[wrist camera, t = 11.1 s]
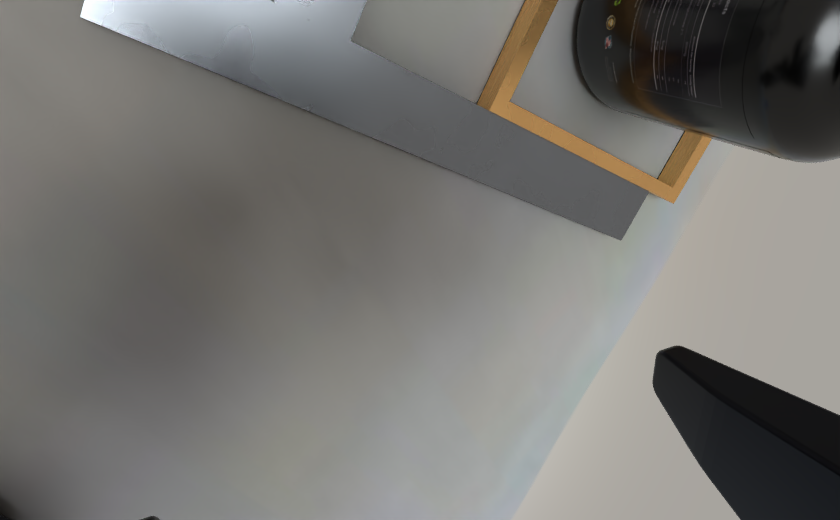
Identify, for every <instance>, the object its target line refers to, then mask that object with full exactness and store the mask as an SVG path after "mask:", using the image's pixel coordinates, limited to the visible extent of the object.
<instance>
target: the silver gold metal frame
mask: <svg viewBox="0 0 840 520" xmlns="http://www.w3.org/2000/svg"><path fill="white" fill-rule="evenodd" d="M366 1H367V0H85V1H84V4H83V8H82V12H81V16H80V17H82V18H84V19H87V20H89V21H92V22H94V23H96V24H99V25H101V26H104V27H106V28H108V29H111V30H113V31H116V32H118V33H121V34H123V35H125V36H128V37H130V38H133V39H135V40H137V41H140V42H142V43H145V44H147V45H150V46H152V47H154V48H157V49H159V50H162V51H164V52H166V53H169V54H171V55H174V56H176V57H179V58H181V59H183V60H186V61H188V62H191V63H193V64H195V65H198V66H200V67H203V68H205V69H208V70H210V71H212V72H215V73H217V74H220V75H222V76H225V77H227V78H229V79H232V80H234V81H237V82H239V83H241V84H244V85H246V86H249V87H251V88H254V89H256V90H258V91H261V92H263V93H266V94H268V95H270V96H273V97H275V98H278V99H280V100H283V101H285V102H287V103H290V104H292V105H295V106H297V107H299V108H302V109H304V110H307V111H309V112H312V113H314V114H316V115H319V116H321V117H324V118H326V119H328V120H331V121H333V122H336V123H338V124H341V125H343V126H345V127H348V128H350V129H353V130H355V131H357V132H360V133H362V134H365V135H367V136H370V137H372V138H374V139H377V140H379V141H382V142H384V143H386V144H389V145H391V146H394V147H396V148H399V149H401V150H403V151H406V152H408V153H411V154H413V155H416V156H418V157H420V158H423V159H425V160H428V161H430V162H432V163H435V164H437V165H440V166H442V167H445V168H447V169H449V170H452V171H454V172H457V173H459V174H461V175H464V176H466V177H469V178H471V179H474V180H476V181H478V182H481V183H483V184H486V185H488V186H490V187H493V188H495V189H498V190H500V191H503V192H505V193H507V194H510V195H512V196H515V197H517V198H519V199H522V200H524V201H527V202H529V203H532V204H534V205H536V206H539V207H541V208H544V209H546V210H548V211H551V212H553V213H556V214H558V215H561V216H563V217H565V218H568V219H570V220H573V221H575V222H577V223H580V224H582V225H585V226H587V227H590V228H592V229H594V230H597V231H599V232H602V233H604V234H607V235H609V236H611V237H614V238H616V239H619V240H622V238H623V237H624V235H625V233H626V231H627V230H628V228H629V226H630V224H631V223H632V221H633V219H634V217H635V216H636V214H637V212H638V210H639V209H640V207H641V205H642V203H643V202H644V200H645V198H646V196H647V195H648V193H649V192H650V193H652V194H654V195H656V196H658V197H660V198H662V199H664V200H667V201H669V202H671V203H673V204H674V202H675V201H676V199H677V197H678V195H679V194H680V192H681V190H682V189H683V187H684V185H685V183H686V182H687V180H688V178H689V177H690V175H691V173H692V172H693V170H694V168H695V166H696V165H697V163H698V161H699V160H700V158H701V156H702V155H703V153H704V151H705V149H706V148H707V146H708V144H709V143H710V141H711V138H708V137H704V136H701V135H698V134H694V133H691V132H687V131H685V133H684V134H683V136H682V138H681V140H680V141H679V143H678V145H677V147H676V148H675V150H674V152H673V153H672V155H671V157H670V159H669V160H668V162H667V164H666V166H665V167H664V169H663V171H662V173H661V174H660V176H659V178H658V180H657V179H655V178H653V177H652V176H650V175H648V174H646V173H644V172H642V171H640V170H638V169H636V168H635V167H633V166H631V165H629V164H627V163H625V162H623V161H621V160H619V159H618V158H616V157H614V156H612V155H610V154H608V153H606V152H604V151H602V150H600V149H599V148H597V147H595V146H593V145H591V144H589V143H587V142H585V141H583V140H582V139H580V138H578V137H576V136H574V135H572V134H570V133H568V132H566V131H565V130H563V129H561V128H559V127H557V126H555V125H553V124H551V123H549V122H547V121H546V120H544V119H542V118H540V117H538V116H536V115H534V114H532V113H530V112H529V111H527V110H525V109H523V108H521V107H519V106H517V105H515V104H513V103H512V102H510V99H511V97H512V95H513V93H514V91H515V89H516V87H517V85H518V83H519V81H520V78H521V76H522V74H523V72H524V70H525V68H526V66H527V64H528V62H529V60H530V58H531V56H532V54H533V52H534V49H535V47H536V45H537V43H538V41H539V39H540V37H541V35H542V33H543V31H544V29H545V27H546V25H547V23H548V20H549V18H550V16H551V14H552V12H553V10H554V8H555V6H556V4H557V2H558V0H525V3H524V5H523V7H522V9H521V11H520V13H519V15H518V17H517V20H516V22H515V24H514V26H513V28H512V30H511V32H510V35H509V37H508V39H507V41H506V43H505V45H504V47H503V50H502V52H501V54H500V56H499V58H498V60H497V62H496V64H495V67H494V69H493V71H492V73H491V75H490V77H489V79H488V82H487V84H486V86H485V88H484V90H483V92H482V94H481V97H480V99H479V101H478V103H477V104H475V103H473V102H471V101H469V100H467V99H465V98H463V97H461V96H459V95H457V94H455V93H453V92H451V91H449V90H447V89H445V88H443V87H441V86H439V85H437V84H435V83H433V82H431V81H429V80H427V79H425V78H423V77H421V76H419V75H417V74H415V73H413V72H411V71H409V70H407V69H405V68H403V67H401V66H399V65H397V64H395V63H393V62H391V61H389V60H387V59H385V58H383V57H382V56H380V55H378V54H376V53H374V52H372V51H370V50H368V49H366V48H364V47H362V46H360V45H358V44H356V43H354V42H352V41H351V39H352V36H353V34H354V31H355V29H356V26H357V24H358V21H359V19H360V16H361V14H362V11H363V9H364V6H365V3H366Z"/></svg>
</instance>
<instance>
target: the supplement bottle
mask: <svg viewBox="0 0 840 520" xmlns="http://www.w3.org/2000/svg"><path fill="white" fill-rule="evenodd" d="M577 54H578V60H579V64H580V68H581V71H582V74H583V77H584V79H585V81H586V83H587V85H588V86H589V88H590V90H591V91H592V92H593V94H594V95H595V96H596V97H597V98H598V99H599V100H600V101H601V102H603V103H604V104H605V105H607V106H609V107H610V108H612V109H615V110H617V111H620V112H622V113H626V114H629V115H632V116H635V117H638V118H642V119H645V120H649V121H652V122H656V123H659V124H663V125H666V126H670V127H673V128H677V129H680V130H684V131H687V132H691V133H694V134H698V135H701V136H704V137H708V138H711V139H715V140H718V141H722V142H725V143H729V144H732V145H736V146H739V147H743V148H746V149H750V150H753V151H757V152H760V153H764V154H767V155H771V156H775V157H778V158H782V159H787V160H791V161H795V162H803V163H814V162H824V161H829V160H834V159H838V158H840V0H583V3H582V6H581V10H580V15H579V20H578V26H577Z"/></svg>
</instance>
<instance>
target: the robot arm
mask: <svg viewBox="0 0 840 520" xmlns="http://www.w3.org/2000/svg"><path fill="white" fill-rule="evenodd" d="M653 387H654V391H655V393H656V395H657V397H658V398H659V400H660V402H661V403H662V405H663V407H664V408H665V410H666V411H667V413H668V415H669V416H670V418H671V420H672V421H673V423H674V425H675V426H676V428H677V429H678V431H679V433H680V434H681V436H682V438H683V439H684V441H685V442H686V444H687V446H688V447H689V449H690V451H691V452H692V454H693V456H694V457H695V459H696V460H697V461H698V463H699V465H700V466H701V467H702V469H703V470H704V472H705V473H706V475H707V476H708V477H709V479H710V480H711V481H712V483H713V484H714V485H715V486H716V488H717V489H718V490H719V492H720V493H721V494H722V496H723V497H724V498H725V500H726V501H727V502H728V504H729V505H730V506H731V508H732V509H733V510H734V512H735V513H736V514H737V516H738V517H739V518H740V519H741V520H840V415H838V414H836V413H833V412H831V411H829V410H826V409H824V408H822V407H820V406H817V405H815V404H813V403H811V402H808V401H806V400H803V399H801V398H799V397H797V396H795V395H792V394H790V393H788V392H785V391H783V390H781V389H779V388H776V387H774V386H772V385H769V384H767V383H765V382H762V381H760V380H758V379H756V378H754V377H751V376H749V375H747V374H744V373H742V372H740V371H738V370H735V369H733V368H731V367H728V366H726V365H723V364H721V363H719V362H717V361H714V360H712V359H710V358H708V357H706V356H703V355H701V354H699V353H696V352H694V351H692V350H690V349H687V348H685V347H682V346H673V347H670V348H667V349H664V350H661V351H659V352H658V353H657V355H656V359H655V367H654V374H653ZM0 520H9V519H7V518H6V517H4V516H3V515H1V514H0ZM141 520H160V519H159V518H158V517H156V516H150V517H147V518H144V519H141Z"/></svg>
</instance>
